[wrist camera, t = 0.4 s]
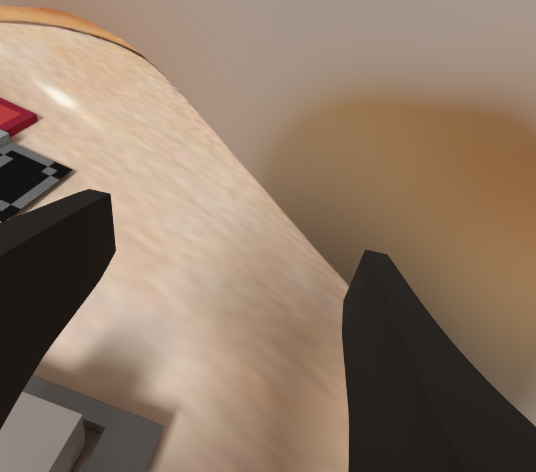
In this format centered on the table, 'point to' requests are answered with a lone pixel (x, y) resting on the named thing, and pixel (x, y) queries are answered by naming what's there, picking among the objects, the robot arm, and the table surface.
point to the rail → (105, 429)
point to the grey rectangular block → (40, 437)
